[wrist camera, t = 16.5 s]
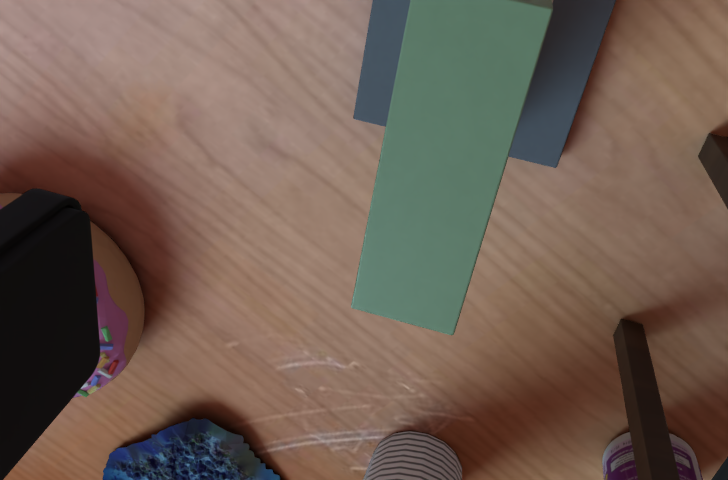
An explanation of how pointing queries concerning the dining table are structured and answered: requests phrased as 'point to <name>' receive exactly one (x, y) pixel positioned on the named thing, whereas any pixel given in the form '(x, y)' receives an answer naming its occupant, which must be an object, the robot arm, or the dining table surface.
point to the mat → (548, 86)
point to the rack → (641, 395)
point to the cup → (413, 459)
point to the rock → (188, 456)
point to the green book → (445, 153)
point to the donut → (110, 307)
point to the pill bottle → (622, 463)
